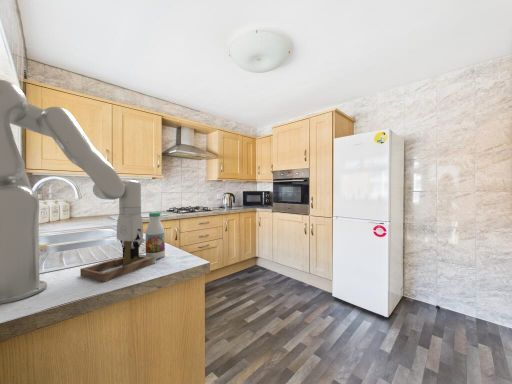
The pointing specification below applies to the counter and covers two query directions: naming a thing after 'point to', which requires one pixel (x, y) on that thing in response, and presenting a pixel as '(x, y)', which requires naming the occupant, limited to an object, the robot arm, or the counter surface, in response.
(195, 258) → the counter surface
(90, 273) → the keyhole board
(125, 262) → the cork
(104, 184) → the robot arm
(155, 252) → the milk bottle
